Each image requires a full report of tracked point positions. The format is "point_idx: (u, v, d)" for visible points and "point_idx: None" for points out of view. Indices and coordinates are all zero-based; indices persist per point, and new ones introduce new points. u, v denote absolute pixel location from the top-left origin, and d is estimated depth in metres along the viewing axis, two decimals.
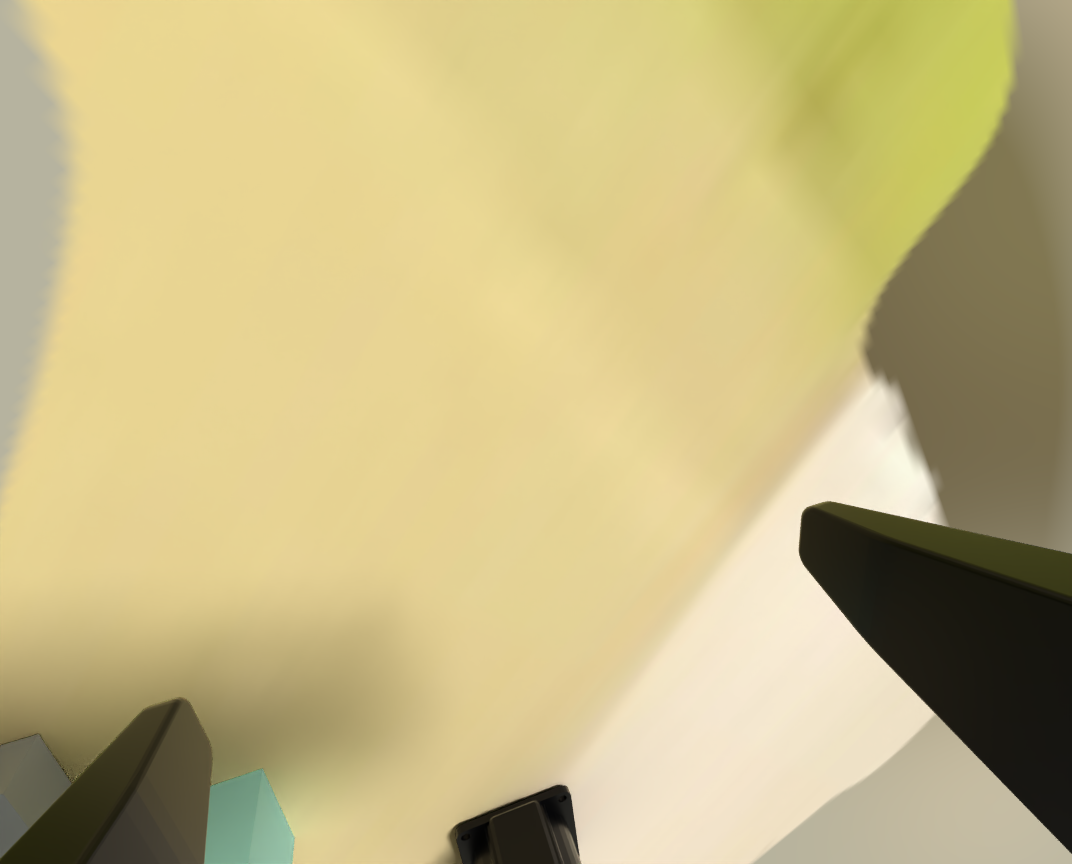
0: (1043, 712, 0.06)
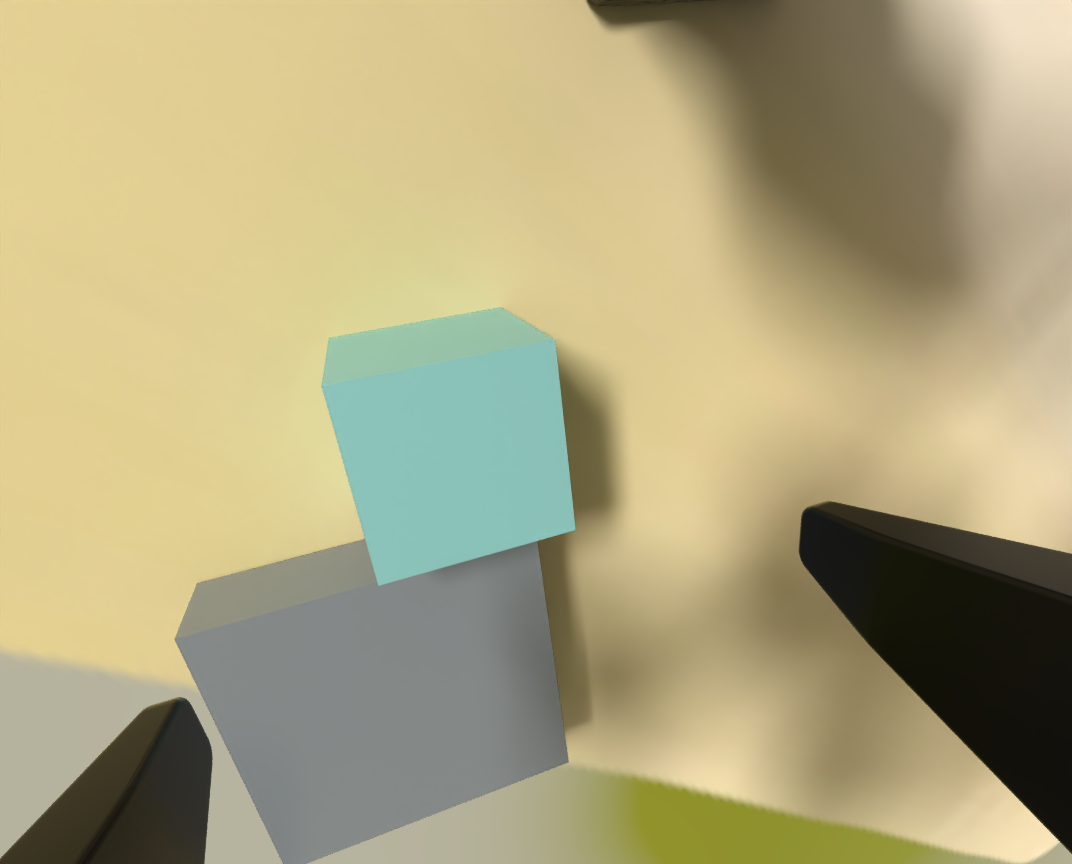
0: (1043, 712, 0.06)
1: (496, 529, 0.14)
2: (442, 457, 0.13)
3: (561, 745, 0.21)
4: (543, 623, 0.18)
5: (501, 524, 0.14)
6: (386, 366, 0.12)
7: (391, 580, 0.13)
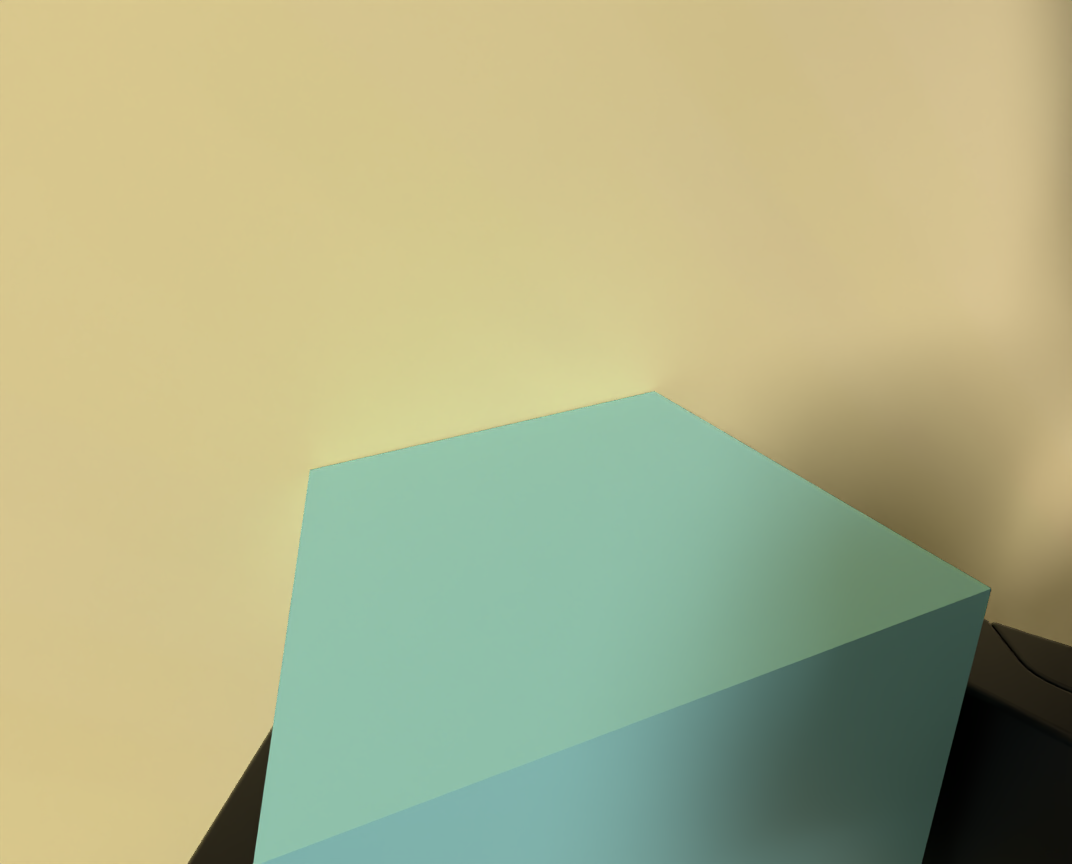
0: None
1: None
2: None
3: None
4: None
5: None
6: (480, 698, 0.04)
7: None
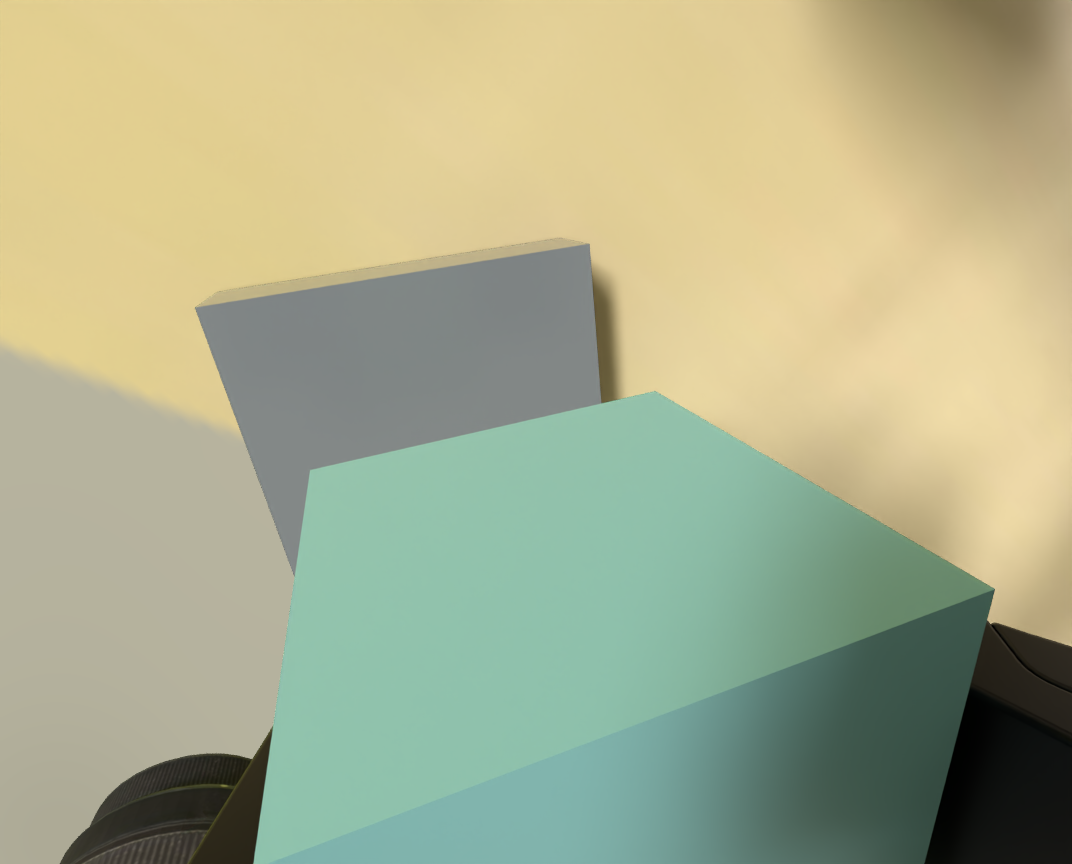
0: None
1: None
2: None
3: None
4: (592, 360, 0.17)
5: None
6: (481, 699, 0.04)
7: None
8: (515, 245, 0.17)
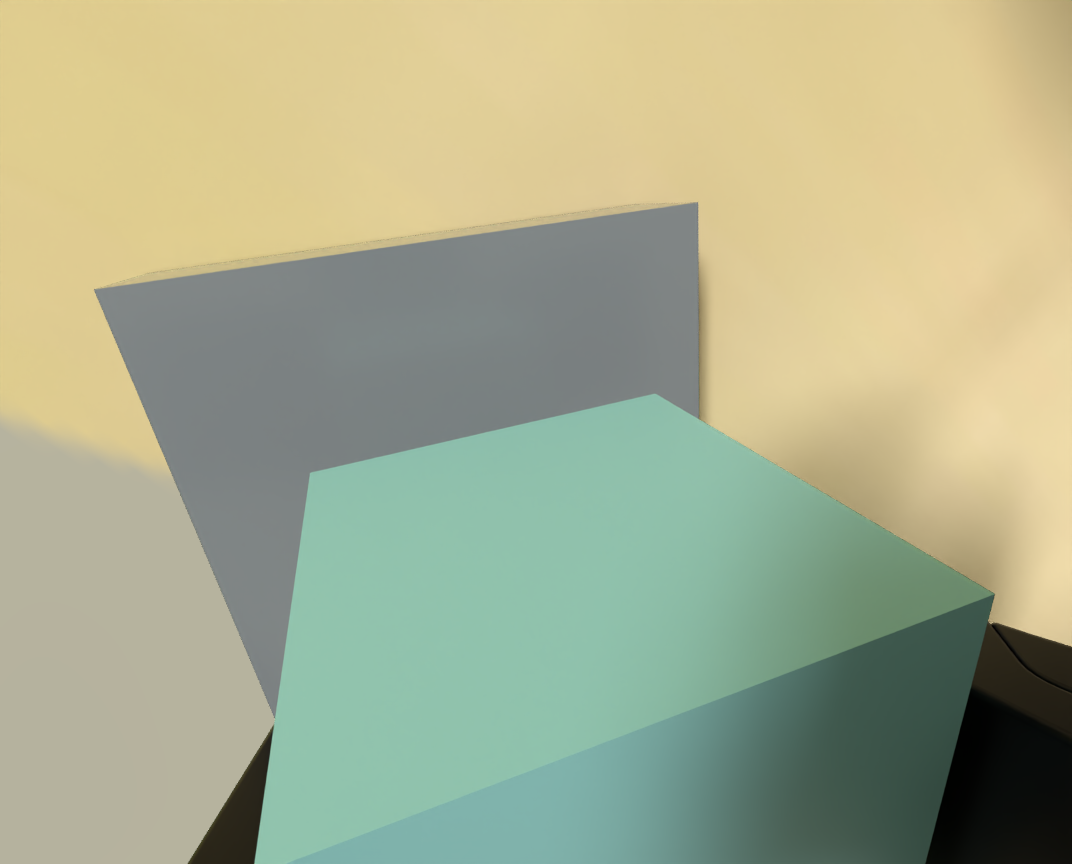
0: None
1: None
2: None
3: None
4: (690, 372, 0.12)
5: None
6: (481, 704, 0.04)
7: None
8: (578, 212, 0.12)
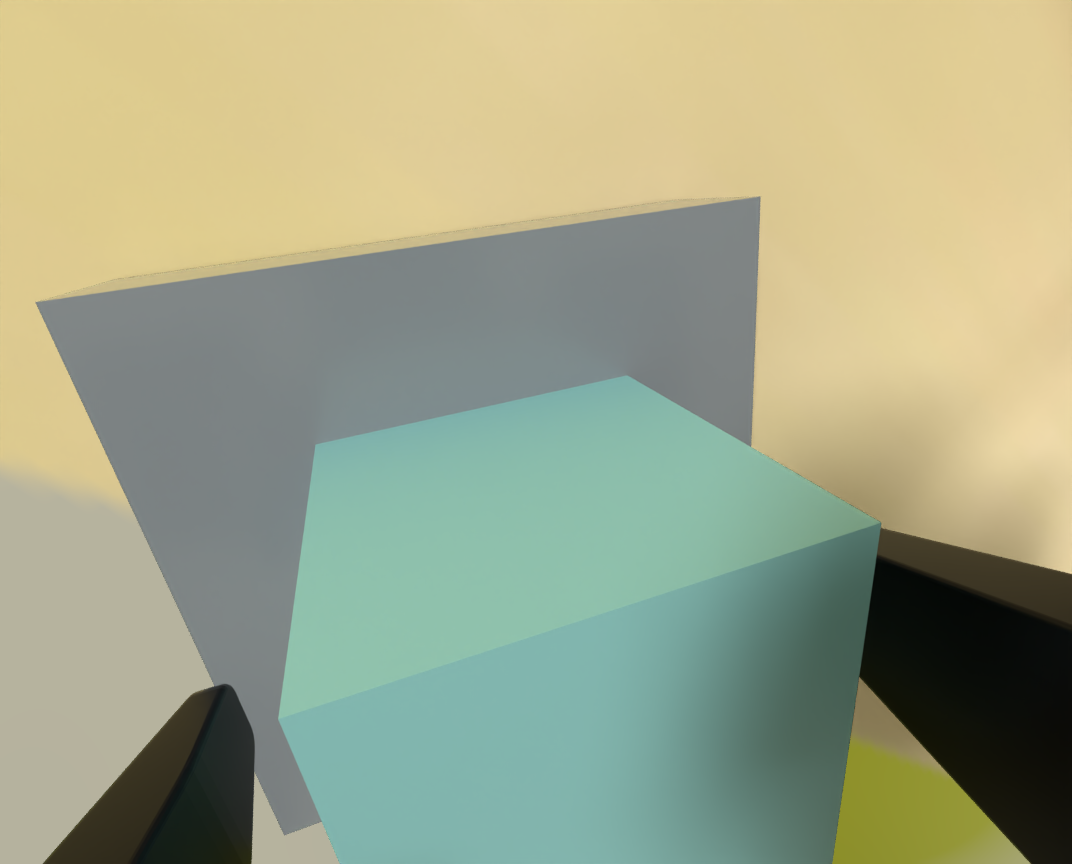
0: (1009, 728, 0.06)
1: None
2: (590, 809, 0.05)
3: None
4: (744, 393, 0.10)
5: None
6: (458, 608, 0.05)
7: None
8: (612, 209, 0.11)
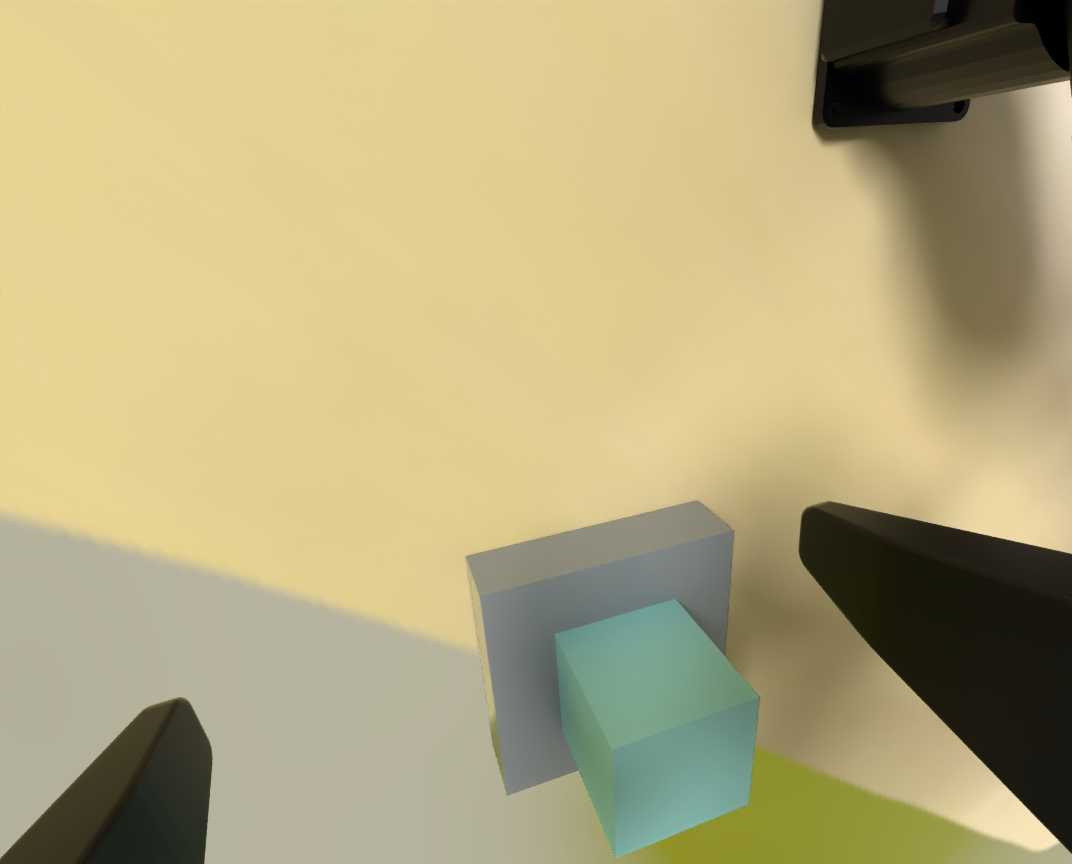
0: (1043, 712, 0.06)
1: (698, 813, 0.19)
2: (674, 776, 0.18)
3: None
4: (725, 600, 0.23)
5: (702, 809, 0.19)
6: (644, 719, 0.17)
7: (625, 854, 0.18)
8: (668, 509, 0.23)
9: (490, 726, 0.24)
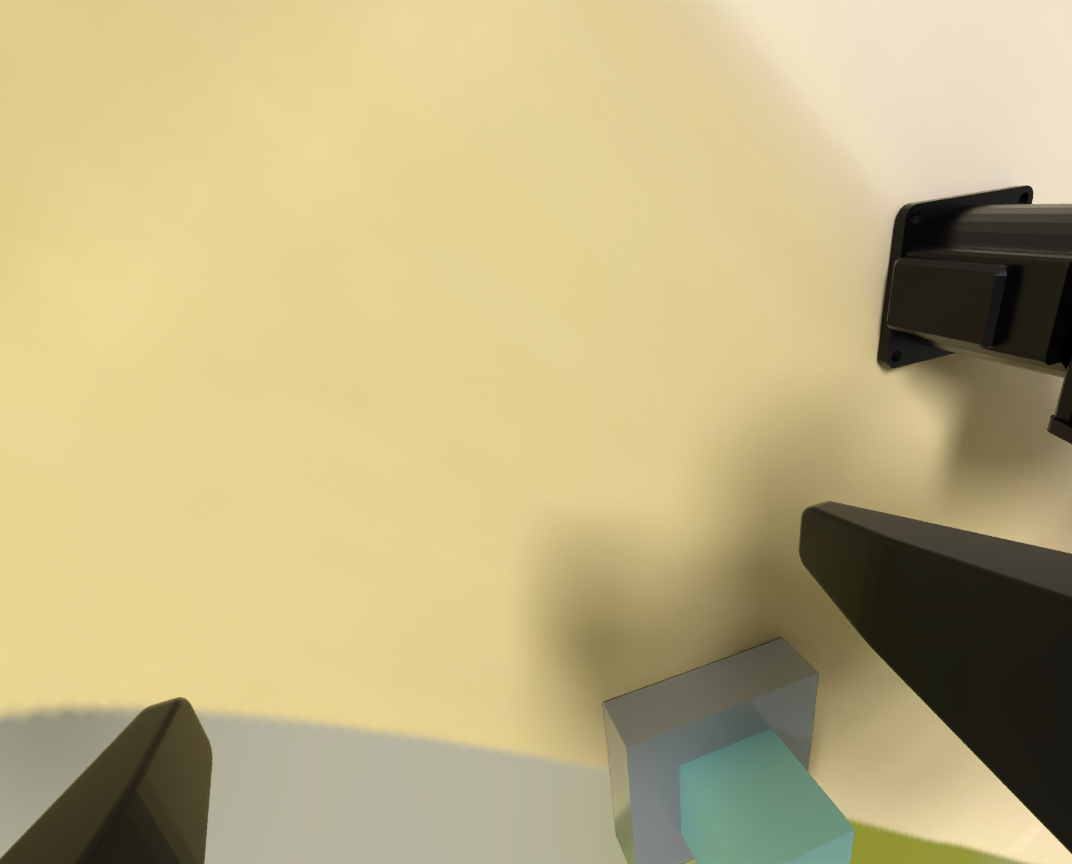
0: (1043, 712, 0.06)
1: None
2: None
3: None
4: (810, 723, 0.28)
5: None
6: (767, 851, 0.22)
7: None
8: (759, 648, 0.28)
9: (615, 823, 0.30)
